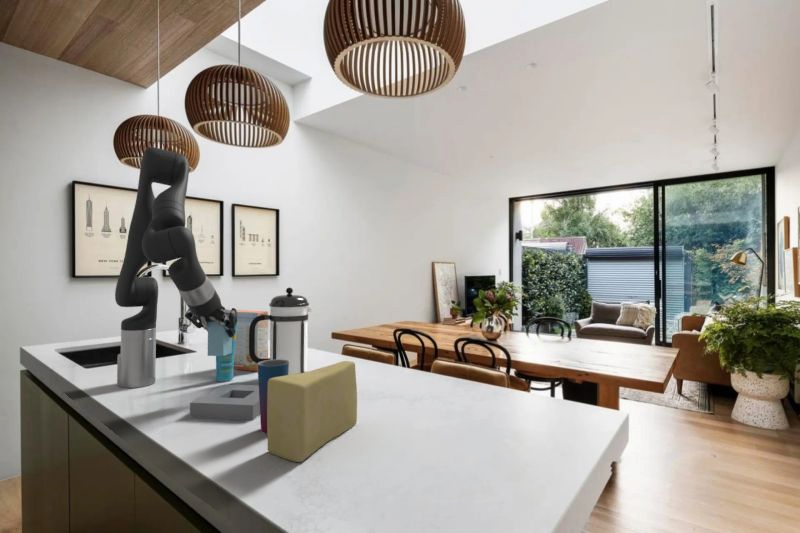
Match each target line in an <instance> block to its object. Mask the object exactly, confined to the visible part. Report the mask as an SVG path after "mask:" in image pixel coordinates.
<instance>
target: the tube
mask: <svg viewBox="0 0 800 533" xmlns="http://www.w3.org/2000/svg"><path fill="white" fill-rule="evenodd" d="M237 323H238V320H237ZM237 323H236V325H235V328H234V329H235V334H234V336H233V337H232V353H230V354H227V355H225V356H215V373H216V375H215V376H216V381H217V382H224V381H225V382H230V380H231V381H232V380H233V379H234V369H233V366H234V352H235V340H236V330H237Z"/></svg>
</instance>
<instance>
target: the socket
mask: <svg viewBox="0 0 800 533" xmlns="http://www.w3.org/2000/svg"><path fill="white" fill-rule="evenodd" d="M258 416H260V401H259V385H250V384H249V385H247V384H246V385H245V384H243V385H241V384H222V385H220V386H219V387H216V388H215V389H213V390H211V391H210V392H207V393H205V394H204V395H201V396H200V397H198V398H196V399H194V400H192V401H191V402H189V418H201V419H202V418H203V419H223V420H225V419H226V420H230V419H231V420H244V421H245V420H246V421H247V420H248V421H249V420H250V421H254V420H255V419H256V418H257V417H258ZM253 419H254V420H253Z"/></svg>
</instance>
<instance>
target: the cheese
mask: <svg viewBox="0 0 800 533" xmlns="http://www.w3.org/2000/svg"><path fill="white" fill-rule="evenodd" d="M356 374H357V372H356V362H354V361H352V360H343V361H339V362H335V363H333V364H329V365H327V366H324V367H323V366H322V367H319V368H316V369H313V370H309V371H306V372H304V373H299V374H293V375H286V376H280V377H274V378H270V379H269V380H268V392H267V433H266V434H267V437H266V438H267V452H269V453H270V454H272V455H275V456H277V457H280V458H282V459H285V460H288V461H291V462H295V463H302V462H304V461H306V459H307V458H308V457H309V458H310V457H311V455H312V454H314V453H315V452H316V451H317V450H319V449H320V448H321V447H323V446H324V445H325V444H327V443H328V442H329V441H331V440H333V439H335V438H337V437H338V436H340V435H343V433H345V432H347V431H348V430H349V429H351V428H353V427H354V426H355V425H356V424H357V422H358V388H357V387H358V386H357V385H358V384H357V375H356ZM352 426H353V427H352Z"/></svg>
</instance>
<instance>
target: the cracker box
mask: <svg viewBox="0 0 800 533" xmlns="http://www.w3.org/2000/svg"><path fill="white" fill-rule="evenodd" d="M236 311H237V320H238V323H237V330H236V340H235V352H234V366H233V370H240V371H241V370H243V371H249V372H255V373H256V372H257V373H258V363H255V362H254V361H253V360H252V359H251V358H250V355H249V329H250V324H251V322H252V321H253V319H254V318H255V317H257V316H260V315H269V311H265V310H263V311H262V310H248V309H247V310H246V309H245V310H244V309H236ZM255 354H256V356H257V357H258V358H261V359H268V358H269V320H261V321H259V322H258V323H257V324H256V326H255Z"/></svg>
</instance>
